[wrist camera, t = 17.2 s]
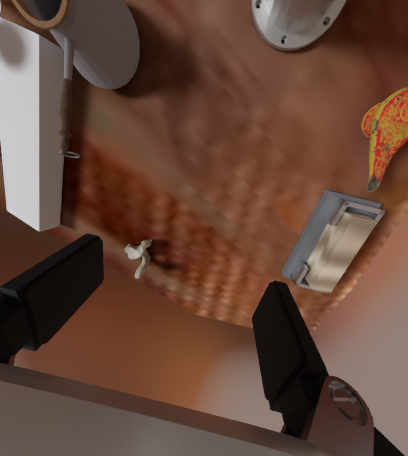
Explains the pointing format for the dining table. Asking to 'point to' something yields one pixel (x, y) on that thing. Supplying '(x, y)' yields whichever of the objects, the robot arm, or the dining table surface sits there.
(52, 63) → the decorative molding
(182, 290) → the dining table surface
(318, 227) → the slat tray
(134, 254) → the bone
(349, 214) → the birch slat
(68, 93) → the coffee pot
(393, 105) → the magic lamp
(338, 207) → the grey long frame
